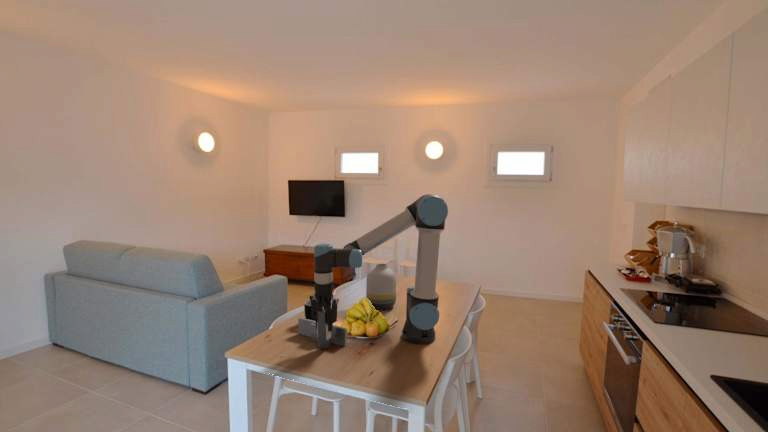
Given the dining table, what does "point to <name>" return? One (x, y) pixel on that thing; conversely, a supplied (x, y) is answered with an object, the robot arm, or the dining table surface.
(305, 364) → the dining table surface
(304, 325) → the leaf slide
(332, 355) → the dining table surface
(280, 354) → the dining table surface
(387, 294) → the vase
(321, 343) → the pin
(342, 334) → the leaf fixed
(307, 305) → the mug
